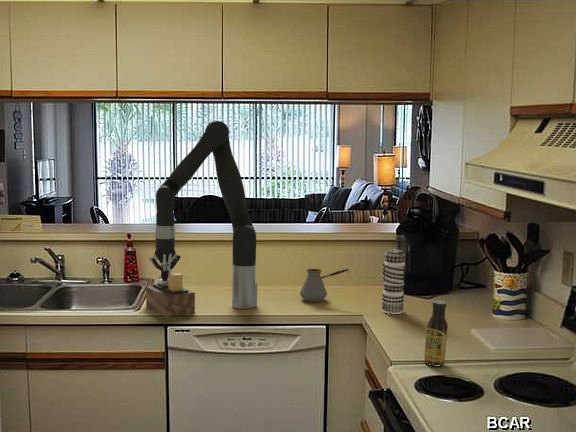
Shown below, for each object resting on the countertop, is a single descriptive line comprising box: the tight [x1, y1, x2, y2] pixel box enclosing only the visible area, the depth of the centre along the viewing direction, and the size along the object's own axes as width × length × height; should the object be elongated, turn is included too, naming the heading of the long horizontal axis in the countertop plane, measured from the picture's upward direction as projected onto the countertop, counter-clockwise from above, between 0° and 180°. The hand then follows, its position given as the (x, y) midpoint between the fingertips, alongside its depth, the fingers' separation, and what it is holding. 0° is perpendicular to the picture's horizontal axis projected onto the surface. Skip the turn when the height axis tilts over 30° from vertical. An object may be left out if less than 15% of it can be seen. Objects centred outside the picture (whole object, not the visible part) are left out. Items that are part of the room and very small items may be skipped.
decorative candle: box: [381, 248, 407, 313], centre depth 264 cm, size 9×9×25 cm
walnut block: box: [145, 282, 196, 318], centre depth 261 cm, size 12×18×9 cm, turn 36°
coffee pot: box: [299, 268, 351, 303], centre depth 279 cm, size 21×12×15 cm, turn 65°
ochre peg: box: [168, 272, 184, 291], centre depth 257 cm, size 4×4×8 cm
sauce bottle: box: [423, 300, 449, 366], centre depth 206 cm, size 6×6×20 cm
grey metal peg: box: [157, 278, 168, 287], centre depth 264 cm, size 4×4×8 cm
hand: (165, 279), depth 264 cm, fingers closed
